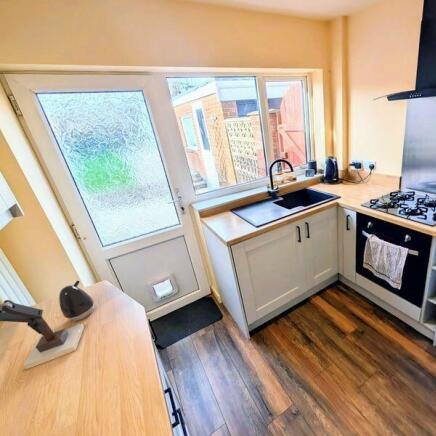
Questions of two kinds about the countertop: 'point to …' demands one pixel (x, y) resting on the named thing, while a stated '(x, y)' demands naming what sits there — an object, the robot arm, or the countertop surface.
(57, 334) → the brown peg on base
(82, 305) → the black pear
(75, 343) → the tile
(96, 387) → the countertop surface
